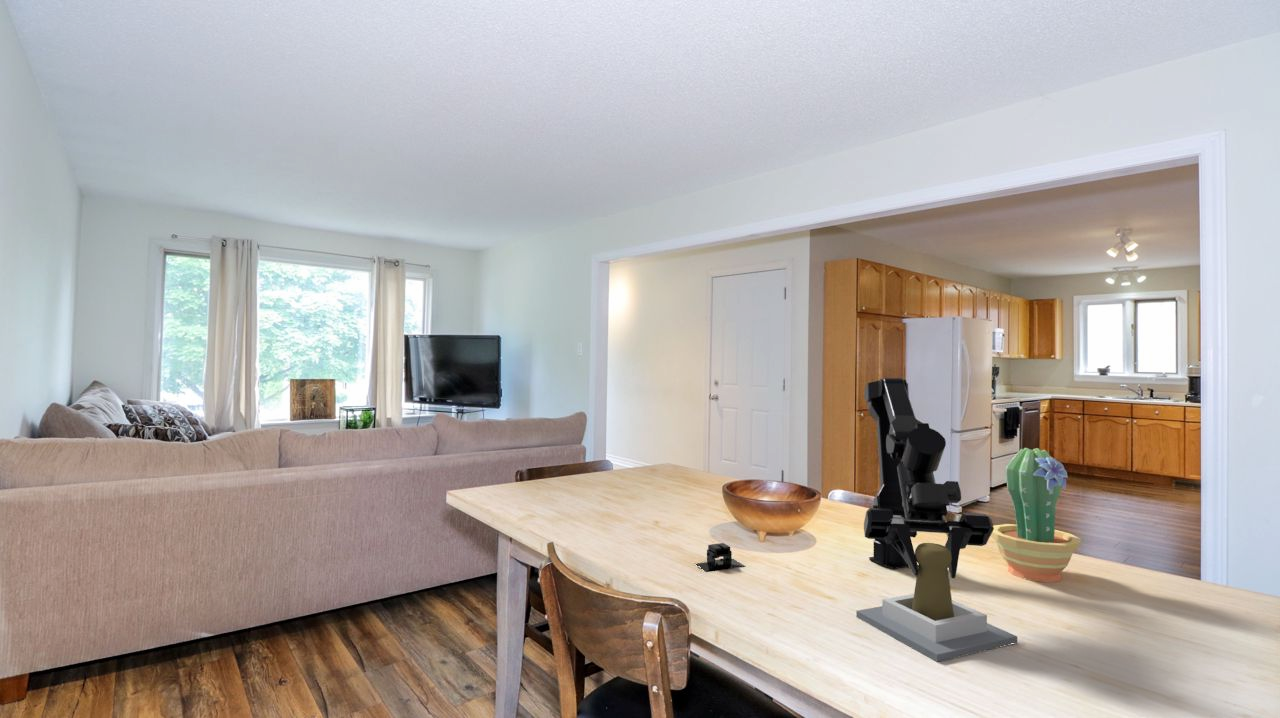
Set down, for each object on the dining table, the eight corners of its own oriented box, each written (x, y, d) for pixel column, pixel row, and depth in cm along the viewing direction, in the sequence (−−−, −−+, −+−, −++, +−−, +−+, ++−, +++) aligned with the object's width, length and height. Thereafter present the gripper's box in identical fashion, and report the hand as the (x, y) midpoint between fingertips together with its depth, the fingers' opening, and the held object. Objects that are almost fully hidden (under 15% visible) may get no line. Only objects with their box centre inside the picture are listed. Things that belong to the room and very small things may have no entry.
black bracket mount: (700, 577, 118) (700, 554, 118) (683, 566, 125) (683, 544, 125) (754, 569, 123) (754, 547, 123) (735, 558, 130) (735, 537, 130)
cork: (937, 605, 98) (937, 538, 98) (963, 621, 92) (963, 550, 92) (903, 608, 97) (904, 539, 97) (927, 624, 91) (928, 551, 91)
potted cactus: (993, 580, 116) (993, 450, 117) (986, 557, 130) (986, 442, 130) (1090, 593, 110) (1090, 456, 110) (1072, 568, 123) (1072, 446, 124)
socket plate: (929, 603, 104) (929, 583, 104) (1017, 643, 89) (1017, 619, 90) (856, 616, 98) (856, 595, 99) (937, 661, 84) (937, 636, 84)
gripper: (866, 459, 100) (877, 545, 89) (989, 464, 96) (1016, 555, 85) (859, 496, 108) (869, 579, 97) (973, 502, 104) (996, 590, 93)
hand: (935, 575), depth 93 cm, fingers closed on cork, 5 cm apart
